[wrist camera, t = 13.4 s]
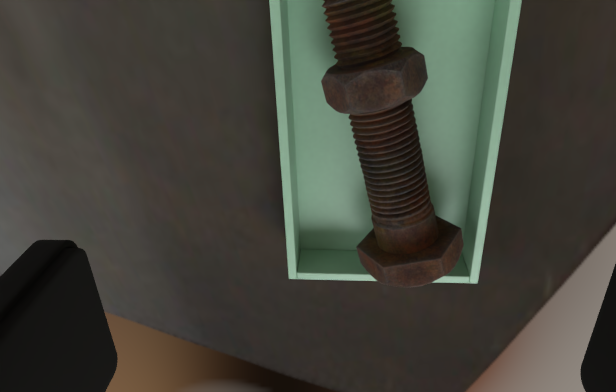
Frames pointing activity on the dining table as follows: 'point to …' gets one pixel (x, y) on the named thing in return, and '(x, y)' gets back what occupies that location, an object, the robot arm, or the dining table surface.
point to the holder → (429, 118)
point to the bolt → (388, 143)
